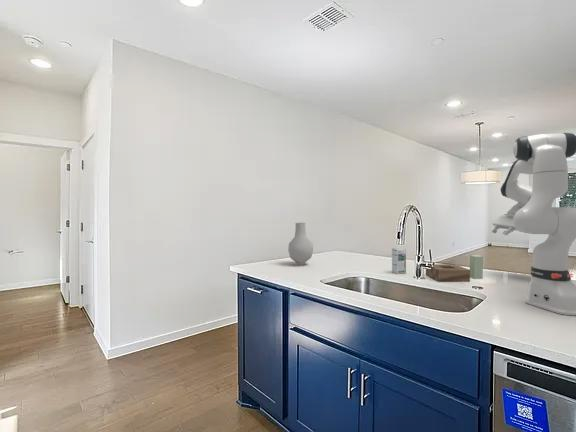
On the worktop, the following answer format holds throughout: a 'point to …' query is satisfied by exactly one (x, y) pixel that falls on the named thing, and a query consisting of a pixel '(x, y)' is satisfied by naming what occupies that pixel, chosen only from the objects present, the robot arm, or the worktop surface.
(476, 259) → the peg
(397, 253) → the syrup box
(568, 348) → the worktop surface
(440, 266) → the well block
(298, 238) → the vase
